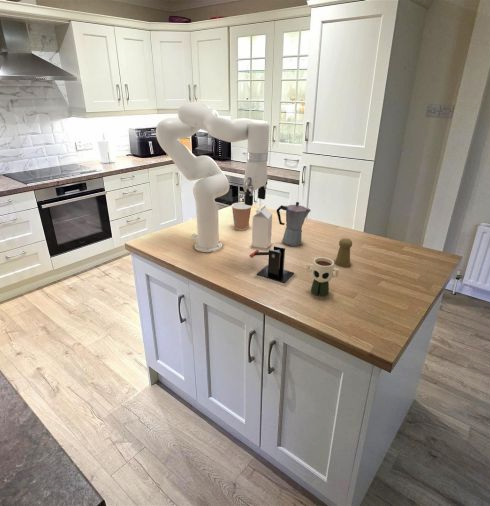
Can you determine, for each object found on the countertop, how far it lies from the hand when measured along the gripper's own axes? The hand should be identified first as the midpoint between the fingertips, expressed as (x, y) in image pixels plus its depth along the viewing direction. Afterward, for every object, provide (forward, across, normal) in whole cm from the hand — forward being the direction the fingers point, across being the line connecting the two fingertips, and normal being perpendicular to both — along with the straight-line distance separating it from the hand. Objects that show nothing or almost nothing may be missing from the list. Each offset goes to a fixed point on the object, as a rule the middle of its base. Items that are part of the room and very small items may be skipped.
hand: (255, 201), depth 135 cm
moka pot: (+26, -27, +6) cm, 38 cm away
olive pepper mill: (+26, -19, +33) cm, 46 cm away
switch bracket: (+26, +6, +14) cm, 30 cm away
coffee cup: (+27, -30, -24) cm, 47 cm away
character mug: (+26, +9, +33) cm, 43 cm away
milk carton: (+26, -16, -4) cm, 31 cm away
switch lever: (+18, +6, +10) cm, 22 cm away
